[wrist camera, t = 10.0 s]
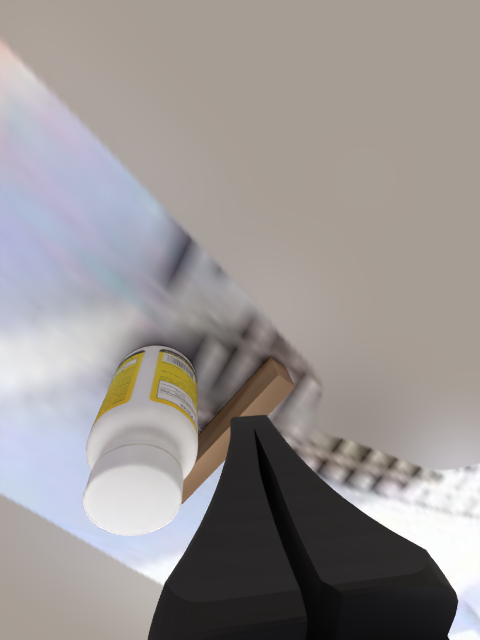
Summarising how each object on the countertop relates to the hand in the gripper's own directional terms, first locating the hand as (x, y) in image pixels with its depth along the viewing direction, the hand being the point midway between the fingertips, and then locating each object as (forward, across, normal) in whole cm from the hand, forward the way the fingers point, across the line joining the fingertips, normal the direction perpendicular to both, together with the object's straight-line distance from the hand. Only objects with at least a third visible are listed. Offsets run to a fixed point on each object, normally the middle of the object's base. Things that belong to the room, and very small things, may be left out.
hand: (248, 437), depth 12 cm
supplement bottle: (+10, +5, +3) cm, 12 cm away
